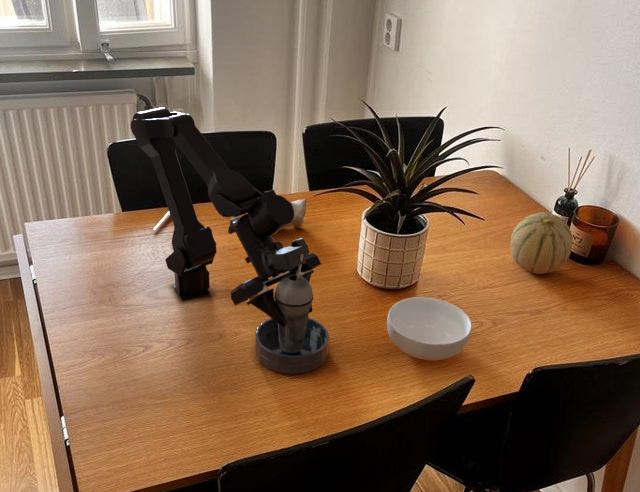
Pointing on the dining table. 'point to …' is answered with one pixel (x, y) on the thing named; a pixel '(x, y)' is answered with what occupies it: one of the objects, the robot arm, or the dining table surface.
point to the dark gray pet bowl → (291, 362)
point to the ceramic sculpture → (298, 213)
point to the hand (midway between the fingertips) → (297, 319)
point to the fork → (161, 221)
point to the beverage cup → (293, 310)
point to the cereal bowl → (428, 328)
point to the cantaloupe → (541, 243)
